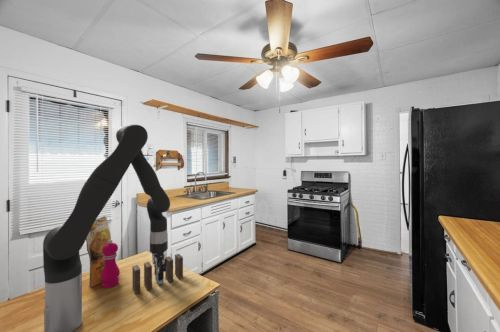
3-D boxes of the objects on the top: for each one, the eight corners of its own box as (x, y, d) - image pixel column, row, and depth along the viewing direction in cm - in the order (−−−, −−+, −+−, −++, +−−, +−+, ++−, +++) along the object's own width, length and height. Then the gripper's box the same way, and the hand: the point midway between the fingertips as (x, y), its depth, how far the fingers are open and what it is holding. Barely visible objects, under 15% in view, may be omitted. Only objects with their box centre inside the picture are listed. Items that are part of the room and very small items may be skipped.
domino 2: (147, 290, 92) (146, 267, 92) (144, 285, 96) (144, 263, 96) (151, 288, 93) (151, 265, 93) (148, 283, 97) (148, 261, 97)
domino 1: (135, 294, 89) (134, 270, 89) (132, 289, 93) (132, 266, 93) (140, 292, 90) (140, 269, 90) (137, 287, 94) (137, 264, 94)
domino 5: (178, 279, 101) (178, 258, 101) (174, 275, 105) (174, 254, 104) (182, 278, 102) (182, 257, 102) (179, 273, 106) (179, 253, 106)
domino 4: (168, 283, 98) (168, 261, 98) (165, 278, 102) (165, 257, 102) (173, 281, 99) (173, 259, 99) (169, 277, 103) (169, 256, 103)
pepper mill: (118, 286, 95) (117, 241, 95) (98, 290, 92) (98, 243, 92) (121, 278, 102) (120, 236, 101) (103, 281, 99) (102, 238, 99)
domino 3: (158, 284, 95) (158, 262, 95) (155, 279, 99) (155, 258, 99) (163, 283, 96) (163, 260, 96) (159, 278, 100) (159, 257, 100)
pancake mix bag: (78, 290, 92) (77, 225, 92) (105, 268, 111) (105, 214, 111) (94, 289, 93) (93, 224, 92) (119, 268, 112) (118, 214, 111)
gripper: (145, 237, 100) (146, 273, 101) (154, 246, 89) (154, 287, 90) (162, 234, 105) (162, 268, 105) (172, 242, 94) (172, 281, 94)
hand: (159, 277), depth 98 cm, fingers closed on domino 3, 5 cm apart
